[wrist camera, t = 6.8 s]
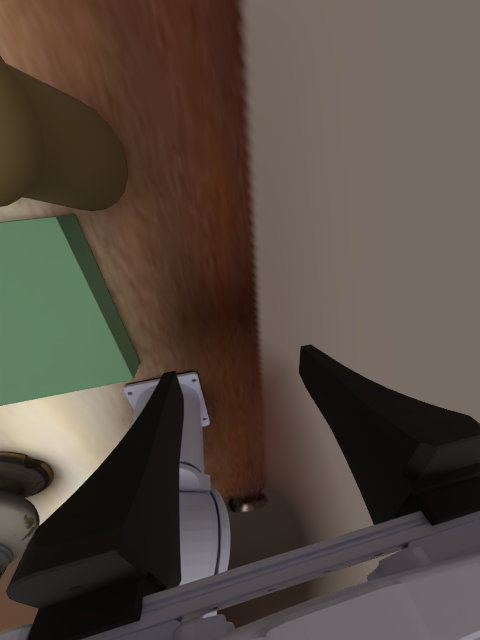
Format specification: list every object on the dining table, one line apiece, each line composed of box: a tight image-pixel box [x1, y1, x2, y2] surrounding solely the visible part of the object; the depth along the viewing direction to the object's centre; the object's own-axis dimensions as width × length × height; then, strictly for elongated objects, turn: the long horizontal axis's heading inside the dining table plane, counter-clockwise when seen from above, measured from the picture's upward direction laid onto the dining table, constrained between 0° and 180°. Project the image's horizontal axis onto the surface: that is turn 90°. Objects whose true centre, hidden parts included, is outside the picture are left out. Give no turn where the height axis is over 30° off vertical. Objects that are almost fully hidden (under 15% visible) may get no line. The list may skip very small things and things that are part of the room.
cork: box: [0, 56, 128, 211], centre depth 9 cm, size 6×6×11 cm
